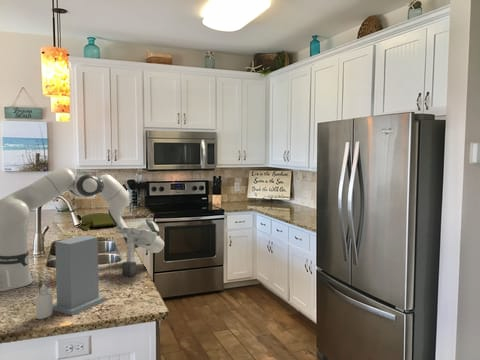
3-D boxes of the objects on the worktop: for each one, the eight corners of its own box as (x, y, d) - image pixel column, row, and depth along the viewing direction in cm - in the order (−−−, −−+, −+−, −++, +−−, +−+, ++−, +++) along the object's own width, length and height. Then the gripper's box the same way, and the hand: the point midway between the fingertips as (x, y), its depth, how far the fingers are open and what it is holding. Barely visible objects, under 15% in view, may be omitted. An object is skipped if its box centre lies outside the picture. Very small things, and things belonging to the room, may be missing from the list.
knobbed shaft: (128, 228, 192) (123, 229, 188) (136, 229, 189) (130, 230, 186) (128, 273, 192) (122, 274, 189) (135, 274, 190) (130, 276, 187)
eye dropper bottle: (35, 316, 142) (34, 283, 141) (51, 312, 145) (51, 281, 144) (36, 320, 138) (35, 287, 137) (53, 316, 141) (53, 284, 140)
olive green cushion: (125, 227, 308) (125, 215, 307) (84, 232, 290) (84, 219, 290) (111, 221, 337) (111, 209, 336) (74, 224, 319) (73, 212, 318)
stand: (84, 295, 162) (82, 233, 160) (105, 300, 157) (104, 237, 155) (50, 309, 148) (48, 241, 146) (72, 315, 142) (70, 245, 140)
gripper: (128, 229, 203) (111, 220, 191) (159, 233, 193) (143, 223, 182) (124, 241, 200) (106, 232, 189) (155, 245, 191) (138, 236, 180)
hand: (124, 228), depth 186 cm, fingers open, 8 cm apart
